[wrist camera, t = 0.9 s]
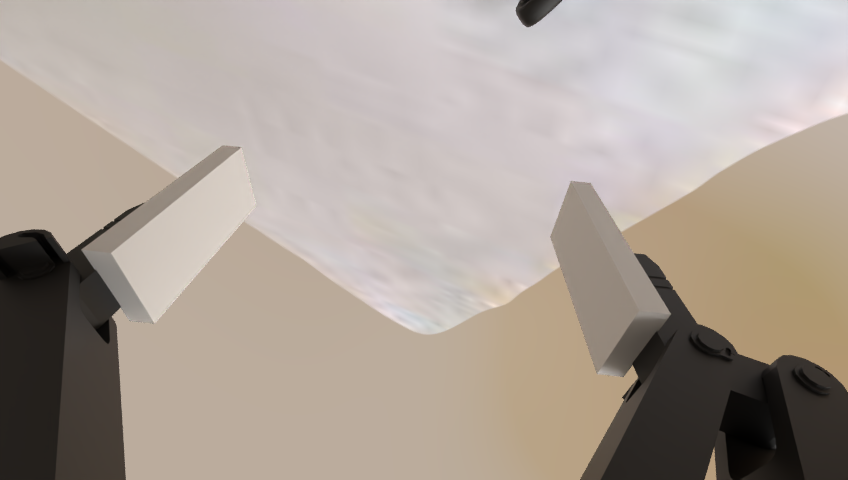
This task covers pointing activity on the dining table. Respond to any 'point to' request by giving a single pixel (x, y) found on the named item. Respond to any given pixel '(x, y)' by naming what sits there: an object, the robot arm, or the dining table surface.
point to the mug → (534, 10)
